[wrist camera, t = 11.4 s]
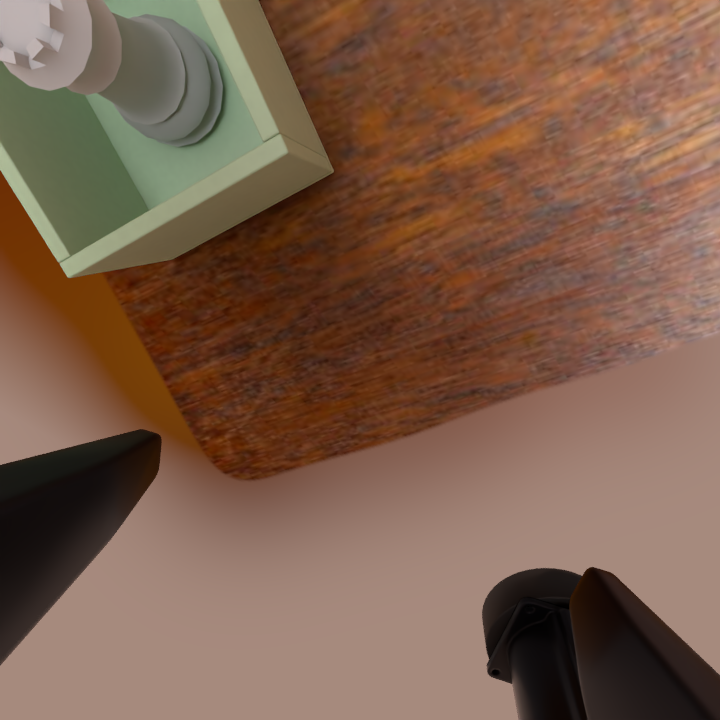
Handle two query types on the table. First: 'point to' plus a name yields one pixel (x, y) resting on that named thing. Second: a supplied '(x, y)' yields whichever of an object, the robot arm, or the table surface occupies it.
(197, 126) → the rook chess piece
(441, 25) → the table surface
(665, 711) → the robot arm
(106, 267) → the bin
